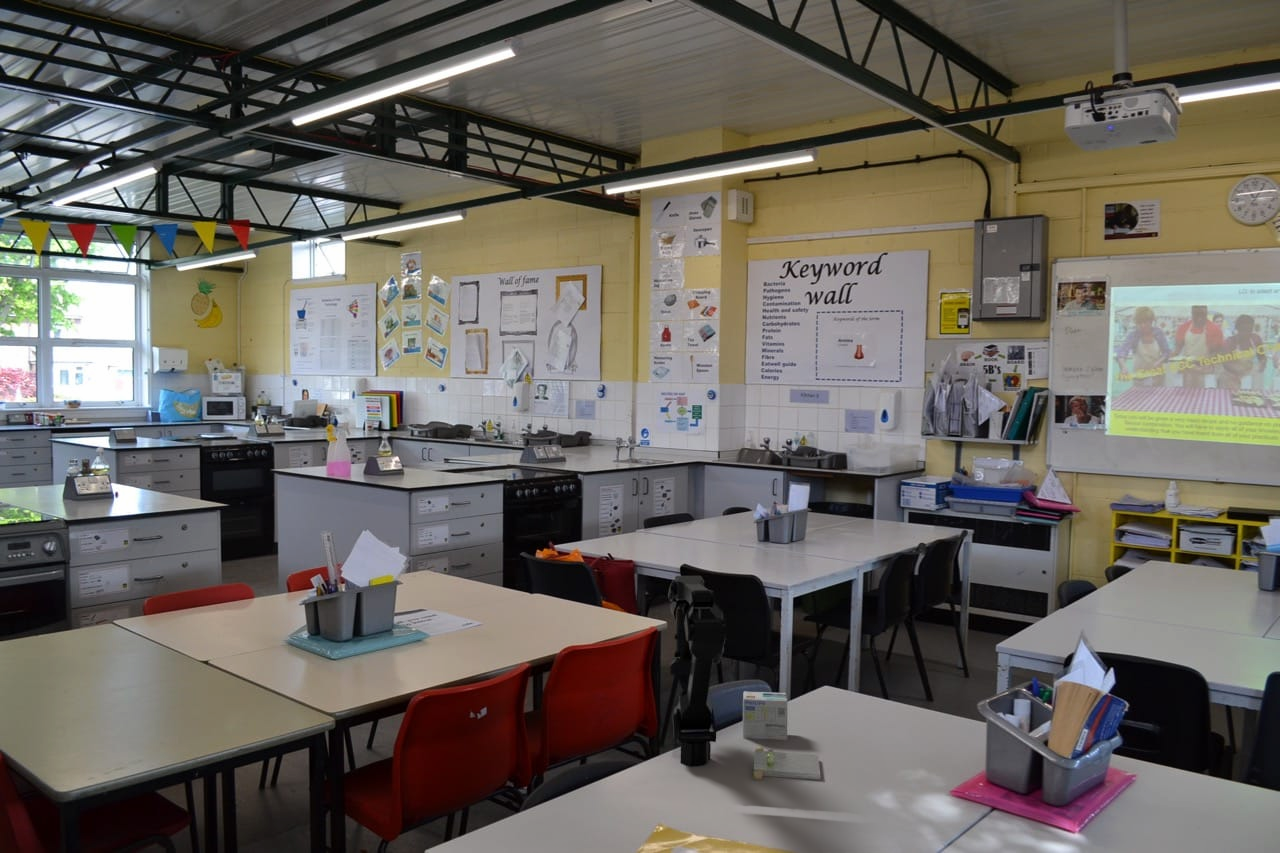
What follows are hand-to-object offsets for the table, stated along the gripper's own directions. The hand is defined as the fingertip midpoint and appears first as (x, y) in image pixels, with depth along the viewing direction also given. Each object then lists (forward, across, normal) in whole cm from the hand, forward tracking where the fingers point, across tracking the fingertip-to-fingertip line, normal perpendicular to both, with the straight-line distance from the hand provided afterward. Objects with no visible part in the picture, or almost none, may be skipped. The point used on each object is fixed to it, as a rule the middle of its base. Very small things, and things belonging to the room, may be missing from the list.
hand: (687, 695), depth 214 cm
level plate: (+11, -12, -23) cm, 28 cm away
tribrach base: (+12, -12, -23) cm, 29 cm away
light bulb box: (+12, +8, -18) cm, 23 cm away
